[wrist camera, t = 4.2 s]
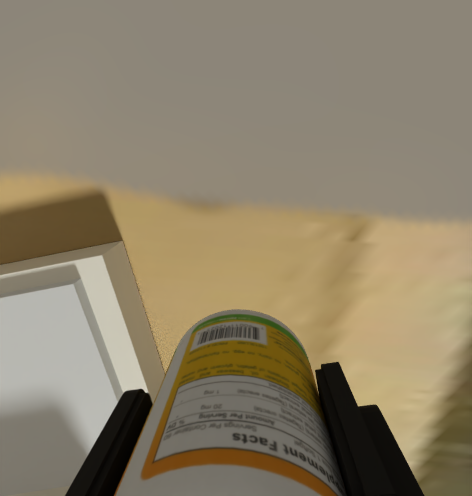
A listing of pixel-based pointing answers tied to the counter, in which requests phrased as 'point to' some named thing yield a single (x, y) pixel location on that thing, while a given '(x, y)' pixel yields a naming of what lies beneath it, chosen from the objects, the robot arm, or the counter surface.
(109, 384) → the scale
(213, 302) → the counter surface
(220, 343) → the supplement bottle
